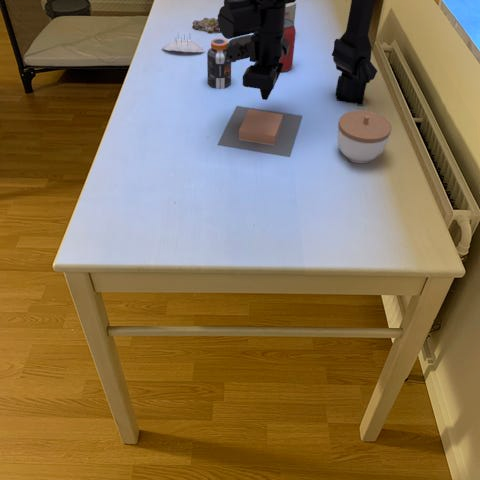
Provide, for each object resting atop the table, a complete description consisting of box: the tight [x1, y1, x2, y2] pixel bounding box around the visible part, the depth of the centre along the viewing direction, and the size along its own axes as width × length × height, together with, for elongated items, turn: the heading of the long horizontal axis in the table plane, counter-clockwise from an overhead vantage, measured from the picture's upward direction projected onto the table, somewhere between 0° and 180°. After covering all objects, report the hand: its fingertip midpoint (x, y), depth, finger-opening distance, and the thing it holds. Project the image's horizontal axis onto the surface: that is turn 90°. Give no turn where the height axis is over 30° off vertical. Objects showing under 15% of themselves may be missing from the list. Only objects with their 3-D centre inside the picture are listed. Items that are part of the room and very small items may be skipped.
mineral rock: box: [192, 17, 221, 35], centre depth 154 cm, size 11×4×8 cm
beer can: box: [280, 18, 296, 73], centre depth 133 cm, size 7×7×12 cm
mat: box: [217, 105, 303, 158], centre depth 115 cm, size 16×17×1 cm
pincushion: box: [161, 33, 205, 53], centre depth 141 cm, size 12×6×6 cm, turn 84°
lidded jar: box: [336, 110, 393, 164], centre depth 106 cm, size 11×11×9 cm
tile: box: [239, 109, 283, 145], centre depth 113 cm, size 8×2×9 cm
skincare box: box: [285, 2, 297, 23], centre depth 148 cm, size 5×4×10 cm
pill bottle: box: [206, 38, 232, 90], centre depth 126 cm, size 6×6×11 cm
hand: (264, 99), depth 112 cm, fingers closed
